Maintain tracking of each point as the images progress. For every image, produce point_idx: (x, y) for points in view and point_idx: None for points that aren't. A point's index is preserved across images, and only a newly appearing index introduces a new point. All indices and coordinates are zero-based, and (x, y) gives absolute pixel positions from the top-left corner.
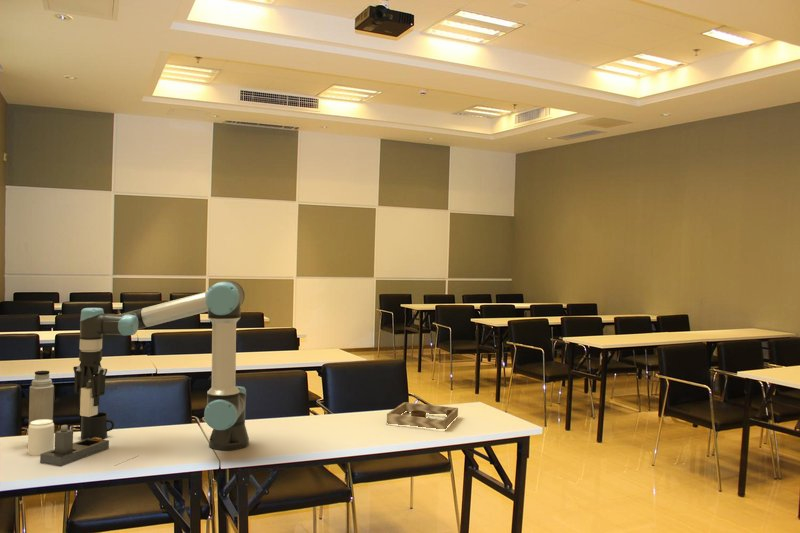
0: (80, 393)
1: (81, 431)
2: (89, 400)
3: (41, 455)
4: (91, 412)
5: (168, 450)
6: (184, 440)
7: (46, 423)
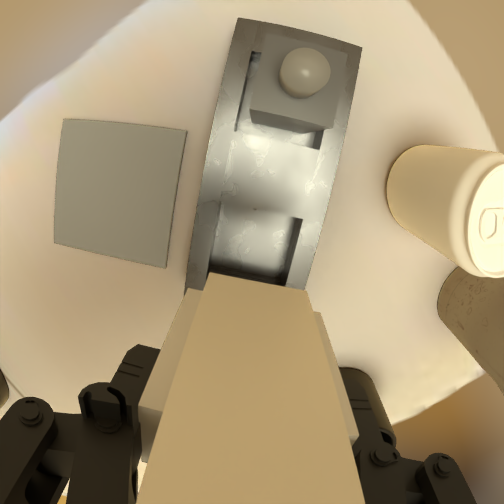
0: (371, 466)
1: (374, 391)
2: (177, 369)
3: (353, 46)
4: (188, 302)
5: (32, 319)
6: (63, 400)
7: (478, 189)
